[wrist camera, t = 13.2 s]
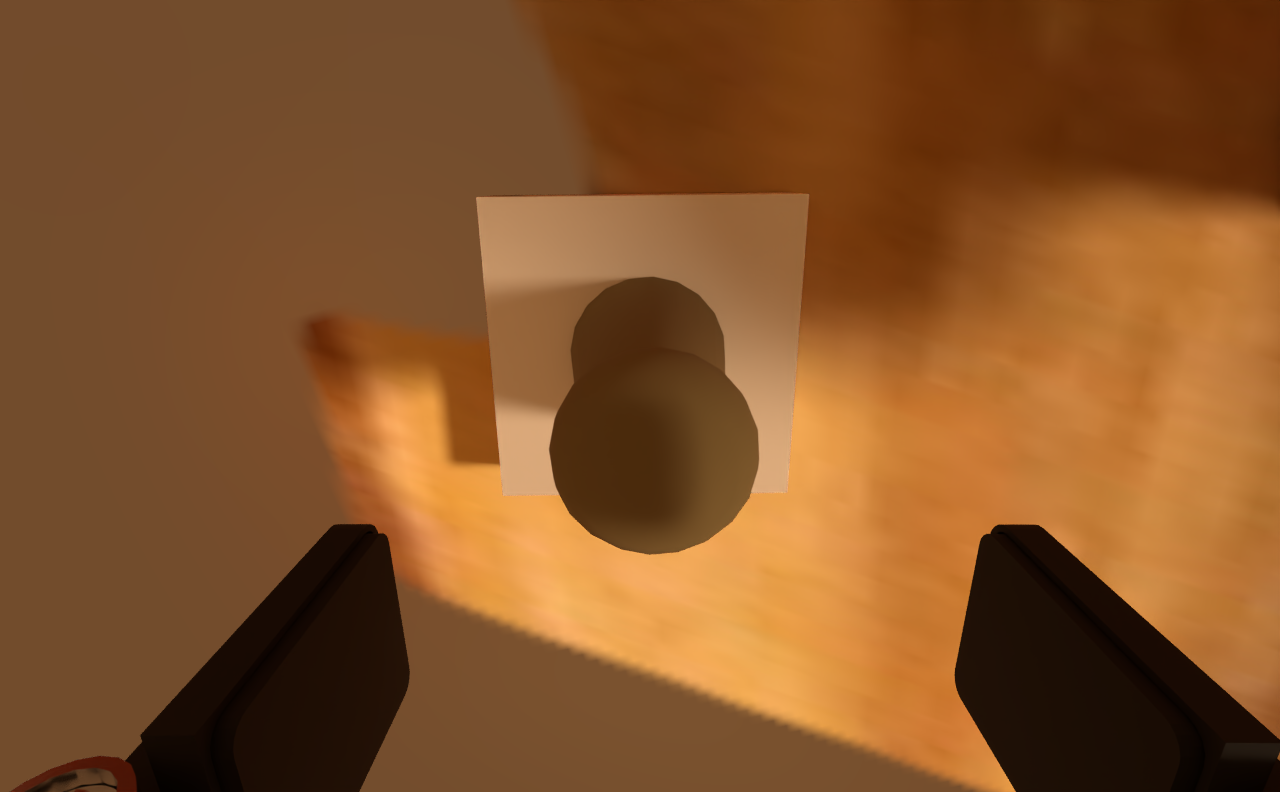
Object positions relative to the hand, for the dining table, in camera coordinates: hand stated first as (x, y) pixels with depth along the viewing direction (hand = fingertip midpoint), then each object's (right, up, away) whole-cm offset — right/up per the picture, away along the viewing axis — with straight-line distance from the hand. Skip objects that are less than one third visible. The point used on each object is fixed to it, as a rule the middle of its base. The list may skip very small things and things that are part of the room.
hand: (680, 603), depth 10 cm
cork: (0, +5, +15) cm, 16 cm away
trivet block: (-1, +6, +17) cm, 18 cm away
